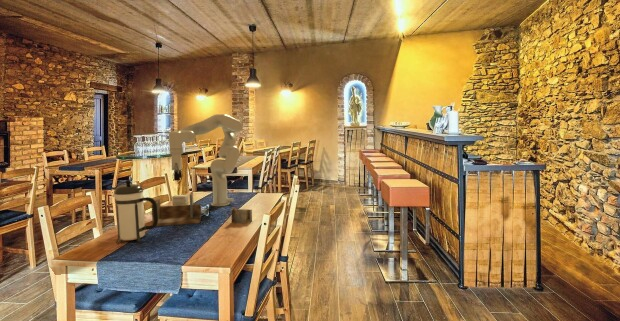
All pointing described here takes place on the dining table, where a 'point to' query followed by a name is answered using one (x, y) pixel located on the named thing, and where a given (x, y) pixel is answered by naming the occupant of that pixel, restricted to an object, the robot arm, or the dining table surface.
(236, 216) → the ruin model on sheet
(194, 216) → the bookend
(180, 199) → the ink box
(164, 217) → the walnut shelf
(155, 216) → the coffee press
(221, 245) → the dining table surface
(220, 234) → the dining table surface
